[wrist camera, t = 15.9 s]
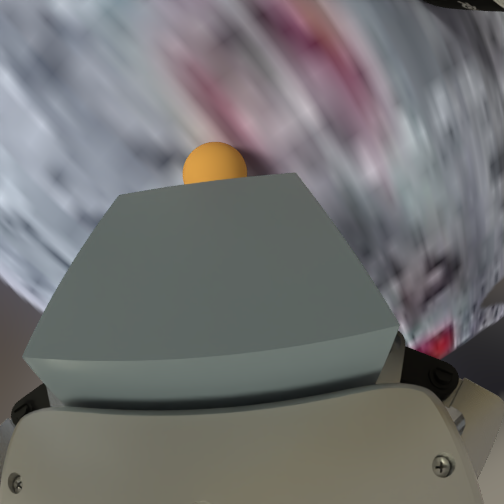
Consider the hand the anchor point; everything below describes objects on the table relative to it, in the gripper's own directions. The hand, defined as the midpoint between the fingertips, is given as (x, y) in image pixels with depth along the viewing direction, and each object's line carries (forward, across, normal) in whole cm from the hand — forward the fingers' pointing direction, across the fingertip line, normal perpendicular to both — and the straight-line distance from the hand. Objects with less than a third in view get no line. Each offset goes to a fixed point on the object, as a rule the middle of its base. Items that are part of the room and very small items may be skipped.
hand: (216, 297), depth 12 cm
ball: (+13, 0, -1) cm, 13 cm away
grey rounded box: (+3, 0, 0) cm, 3 cm away
